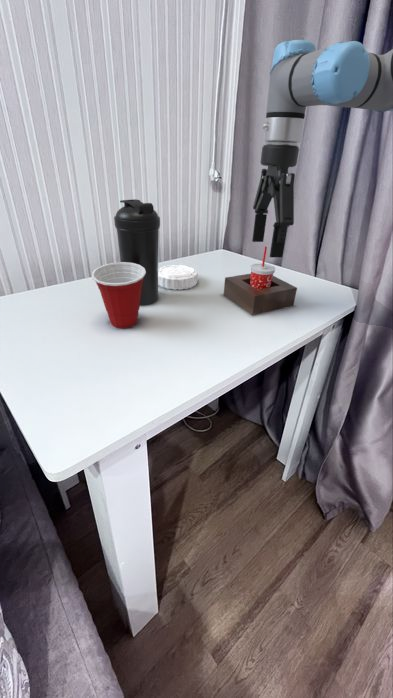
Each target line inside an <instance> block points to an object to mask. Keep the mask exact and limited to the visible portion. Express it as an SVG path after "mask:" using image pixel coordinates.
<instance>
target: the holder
mask: <svg viewBox="0 0 393 698" xmlns="http://www.w3.org/2000/svg"><path fill="white" fill-rule="evenodd" d="M250 279H251V273H244V274H239V275H233V276H227V277H224V285H223V297H224V298H227V299H228V300H230V301H231V302H232V303H233V304H235V305H237V306H238V307H239V308H241V309H242V310H244V311H245V312H246V313H248V314H250V315H251V316H256V315H261V314H265V313H268V312H269V313H270V312H274V311H278V310H282V309H287V308H292V307H294V306H295V302H296V301H295V300H296V295H297V292H298V287H296V286H295V285H293V284H290V283H288V282H287V281H285V280H282V279H281V278H278V277H277V276H275V275H273V277H272V281H271V286H270V287H269V288H264V289H258V290H257V289H256V288H254V287H252V286H251V285H250Z"/></svg>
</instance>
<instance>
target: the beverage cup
mask: <svg viewBox="0 0 393 698" xmlns="http://www.w3.org/2000/svg"><path fill="white" fill-rule="evenodd" d="M267 248H268V247H267V246H264V249H263V250H264V251H263V256H262V263H259V262H258V263H253V264H251V265H250V266H249V267H250V268H249V270H250V274H251V279H250V285H251V286H252V287H254V288H256V289H257V290H258V289H264V288H269V287H270V286H271V281H272V277H273V276H274V274H275V272H276V267H275V266H273V265H271V264H269V263H268V264H267V263H266V255H267Z"/></svg>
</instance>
